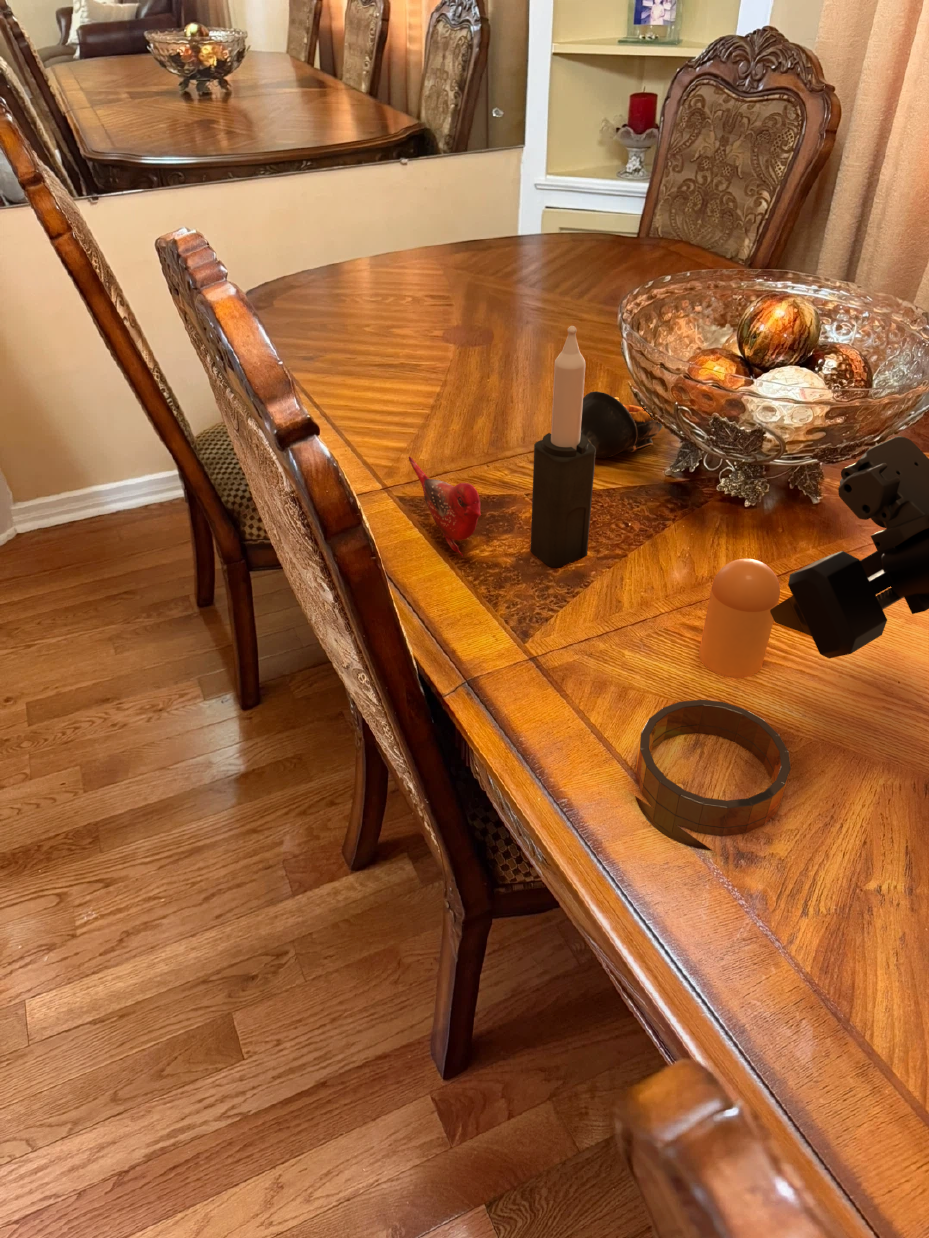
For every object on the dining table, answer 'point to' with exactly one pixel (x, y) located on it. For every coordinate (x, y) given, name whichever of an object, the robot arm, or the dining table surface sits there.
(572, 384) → the candle
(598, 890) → the dining table surface
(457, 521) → the decorative bird figurine
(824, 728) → the dining table surface
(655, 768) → the brown ring
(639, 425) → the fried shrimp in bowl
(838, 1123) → the dining table surface
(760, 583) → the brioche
